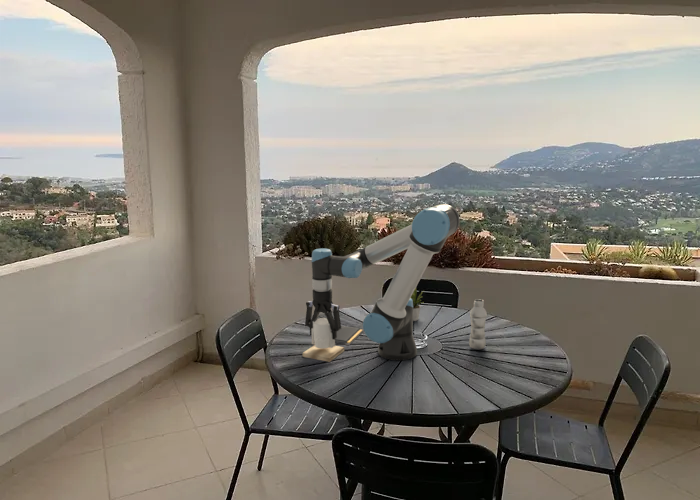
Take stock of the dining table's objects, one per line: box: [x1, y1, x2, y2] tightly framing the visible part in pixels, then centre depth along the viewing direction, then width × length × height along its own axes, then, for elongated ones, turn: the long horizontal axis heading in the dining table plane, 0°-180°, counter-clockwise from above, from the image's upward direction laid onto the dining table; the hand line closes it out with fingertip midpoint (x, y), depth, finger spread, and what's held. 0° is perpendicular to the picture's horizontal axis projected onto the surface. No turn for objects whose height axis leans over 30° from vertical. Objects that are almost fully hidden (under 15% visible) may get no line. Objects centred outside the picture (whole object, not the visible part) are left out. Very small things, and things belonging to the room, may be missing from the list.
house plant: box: [410, 287, 424, 322], centre depth 249 cm, size 14×14×16 cm
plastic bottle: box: [468, 298, 488, 351], centre depth 212 cm, size 6×7×20 cm
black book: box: [335, 325, 365, 346], centre depth 230 cm, size 20×2×15 cm
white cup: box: [313, 317, 331, 349], centre depth 209 cm, size 8×8×10 cm
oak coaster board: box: [302, 344, 345, 363], centre depth 210 cm, size 12×12×2 cm
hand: (323, 344), depth 210 cm, fingers closed on white cup, 7 cm apart
